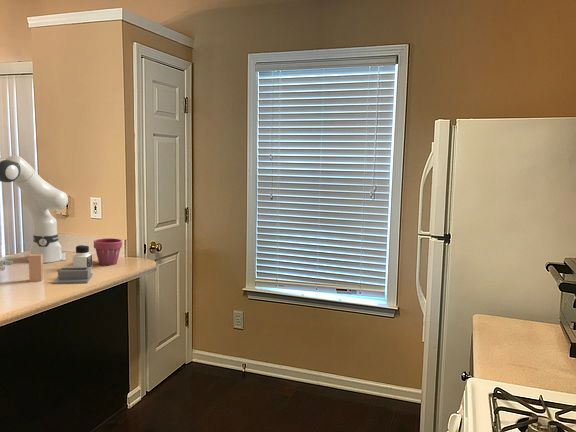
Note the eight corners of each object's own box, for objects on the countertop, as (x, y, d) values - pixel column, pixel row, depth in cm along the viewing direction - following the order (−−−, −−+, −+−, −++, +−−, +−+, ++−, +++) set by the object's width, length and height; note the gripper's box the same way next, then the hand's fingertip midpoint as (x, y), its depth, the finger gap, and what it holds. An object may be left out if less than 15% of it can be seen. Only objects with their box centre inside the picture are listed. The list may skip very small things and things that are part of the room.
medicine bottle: (87, 270, 232) (86, 247, 230) (72, 270, 231) (72, 246, 230) (92, 267, 239) (91, 244, 237) (78, 266, 238) (77, 244, 237)
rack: (61, 275, 220) (61, 265, 219) (92, 275, 223) (92, 265, 223) (53, 283, 206) (53, 273, 206) (87, 283, 210) (86, 272, 209)
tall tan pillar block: (31, 279, 212) (30, 254, 210) (43, 279, 213) (42, 254, 211) (29, 281, 209) (28, 255, 207) (41, 281, 210) (40, 255, 209)
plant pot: (123, 260, 256) (123, 237, 254) (121, 266, 243) (121, 242, 241) (95, 260, 252) (95, 238, 250) (92, 267, 239) (91, 243, 237)
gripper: (-38, 264, 194) (-1, 264, 197) (-18, 254, 213) (15, 253, 217) (-37, 279, 194) (0, 278, 198) (-17, 267, 214) (16, 266, 217)
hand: (8, 265), depth 207 cm, fingers open, 8 cm apart
